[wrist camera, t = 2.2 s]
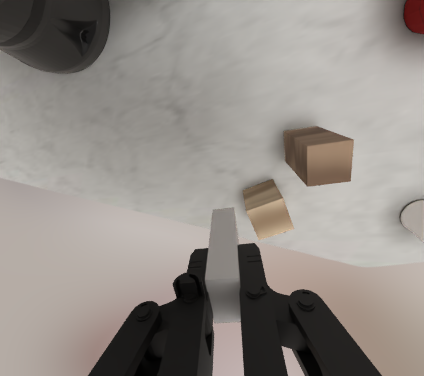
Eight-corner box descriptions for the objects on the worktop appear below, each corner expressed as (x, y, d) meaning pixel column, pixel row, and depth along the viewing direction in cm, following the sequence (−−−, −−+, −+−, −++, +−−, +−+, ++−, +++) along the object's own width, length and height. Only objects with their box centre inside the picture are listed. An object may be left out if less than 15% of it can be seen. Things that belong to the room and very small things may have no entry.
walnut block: (283, 131, 32) (307, 146, 23) (316, 126, 32) (353, 139, 23) (284, 160, 34) (307, 186, 25) (315, 156, 34) (350, 181, 24)
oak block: (242, 190, 36) (246, 211, 30) (272, 179, 35) (282, 198, 29) (253, 215, 38) (259, 240, 32) (282, 205, 37) (294, 228, 31)
